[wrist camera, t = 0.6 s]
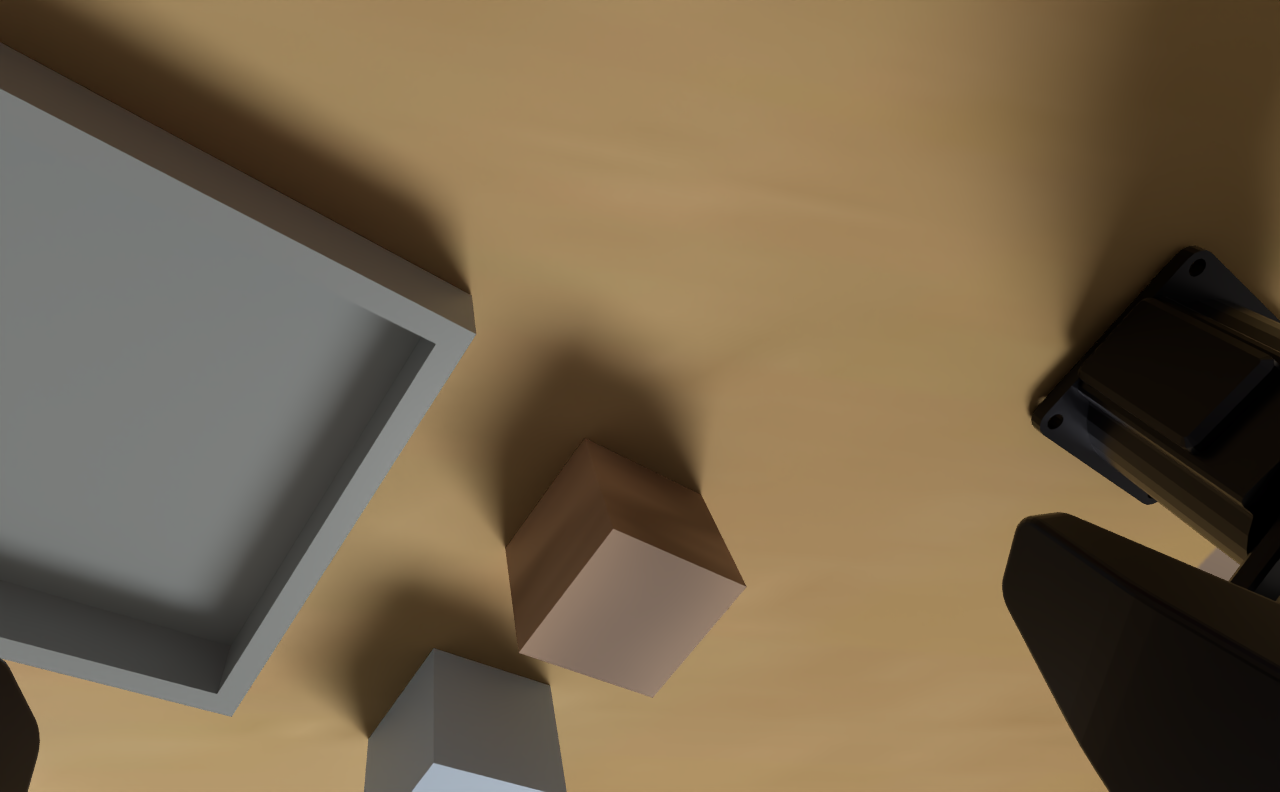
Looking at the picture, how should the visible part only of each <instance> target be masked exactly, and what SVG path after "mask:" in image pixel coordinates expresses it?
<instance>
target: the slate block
mask: <svg viewBox="0 0 1280 792" xmlns="http://www.w3.org/2000/svg"><path fill="white" fill-rule="evenodd" d="M364 792H567V791H566V785H565V778H564V772H563V766H562V759H561V753H560V746H559V740H558V733H557V727H556V720H555V714H554V707H553V701H552V694H551V688H550V685H547V684H543V683H540V682H537V681H534V680H531V679H528V678H525V677H522V676H519V675H515V674H512V673H509V672H506V671H503V670H500V669H497V668H494V667H491V666H488V665H484V664H481V663H478V662H475V661H472V660H469V659H466V658H463V657H460V656H456V655H453V654H450V653H447V652H444V651H441V650H438V649H435V648H433V650H432V651H431V653H430V654H429V655H428V657H427V658H426V660H425V661H424V662H423V664H422V665H421V667H420V668H419V669H418V671H417V672H416V674H415V675H414V676H413V678H412V679H411V681H410V682H409V683H408V685H407V686H406V687H405V689H404V690H403V692H402V693H401V694H400V696H399V697H398V699H397V700H396V701H395V703H394V704H393V706H392V707H391V708H390V710H389V711H388V713H387V714H386V715H385V717H384V718H383V720H382V721H381V722H380V724H379V725H378V726H377V728H376V729H375V731H374V732H373V733H372V735H371V736H370V738H369V739H368V751H367V763H366V775H365V787H364Z"/></svg>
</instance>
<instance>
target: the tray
mask: <svg viewBox="0 0 1280 792" xmlns="http://www.w3.org/2000/svg"><path fill="white" fill-rule="evenodd" d="M475 335H476V328H475V320H474V311H473V302H472V295H470V294H468V293H466V292H464V291H462V290H460V289H459V288H457V287H455V286H453V285H451V284H449V283H447V282H445V281H444V280H442V279H440V278H438V277H436V276H434V275H432V274H431V273H429V272H427V271H425V270H423V269H421V268H419V267H418V266H416V265H414V264H412V263H410V262H408V261H406V260H405V259H403V258H401V257H399V256H397V255H395V254H393V253H391V252H390V251H388V250H386V249H384V248H382V247H380V246H378V245H377V244H375V243H373V242H371V241H369V240H367V239H365V238H364V237H362V236H360V235H358V234H356V233H354V232H352V231H351V230H349V229H347V228H345V227H343V226H341V225H339V224H338V223H336V222H334V221H332V220H330V219H328V218H326V217H324V216H323V215H321V214H319V213H317V212H315V211H313V210H311V209H310V208H308V207H306V206H304V205H302V204H300V203H298V202H297V201H295V200H293V199H291V198H289V197H287V196H285V195H284V194H282V193H280V192H278V191H276V190H274V189H272V188H270V187H269V186H267V185H265V184H263V183H261V182H259V181H257V180H256V179H254V178H252V177H250V176H248V175H246V174H244V173H243V172H241V171H239V170H237V169H235V168H233V167H231V166H230V165H228V164H226V163H224V162H222V161H220V160H218V159H217V158H215V157H213V156H211V155H209V154H207V153H205V152H203V151H202V150H200V149H198V148H196V147H194V146H192V145H190V144H189V143H187V142H185V141H183V140H181V139H179V138H177V137H176V136H174V135H172V134H170V133H168V132H166V131H164V130H163V129H161V128H159V127H157V126H155V125H153V124H151V123H150V122H148V121H146V120H144V119H142V118H140V117H138V116H136V115H135V114H133V113H131V112H129V111H127V110H125V109H123V108H122V107H120V106H118V105H116V104H114V103H112V102H110V101H109V100H107V99H105V98H103V97H101V96H99V95H97V94H96V93H94V92H92V91H90V90H88V89H86V88H84V87H82V86H81V85H79V84H77V83H75V82H73V81H71V80H69V79H68V78H66V77H64V76H62V75H60V74H58V73H56V72H55V71H53V70H51V69H49V68H47V67H45V66H43V65H42V64H40V63H38V62H36V61H34V60H32V59H30V58H29V57H27V56H25V55H23V54H21V53H19V52H17V51H15V50H14V49H12V48H10V47H8V46H6V45H4V44H2V43H1V42H0V658H1V659H5V660H9V661H13V662H17V663H21V664H25V665H29V666H33V667H37V668H41V669H45V670H49V671H53V672H57V673H61V674H65V675H69V676H73V677H77V678H81V679H84V680H88V681H92V682H96V683H100V684H104V685H108V686H112V687H116V688H120V689H124V690H128V691H132V692H136V693H140V694H144V695H148V696H152V697H156V698H160V699H164V700H168V701H171V702H175V703H179V704H183V705H187V706H191V707H195V708H199V709H203V710H207V711H211V712H215V713H219V714H223V715H227V716H231V717H232V715H233V714H234V712H235V710H236V709H237V707H238V706H239V704H240V703H241V701H242V700H243V698H244V696H245V695H246V693H247V692H248V690H249V689H250V687H251V685H252V684H253V682H254V681H255V679H256V678H257V676H258V675H259V673H260V671H261V670H262V668H263V667H264V665H265V664H266V662H267V660H268V659H269V657H270V656H271V654H272V653H273V651H274V650H275V648H276V646H277V645H278V643H279V642H280V640H281V639H282V637H283V635H284V634H285V632H286V631H287V629H288V628H289V626H290V624H291V623H292V621H293V620H294V618H295V617H296V615H297V614H298V612H299V610H300V609H301V607H302V606H303V604H304V603H305V601H306V599H307V598H308V596H309V595H310V593H311V592H312V590H313V589H314V587H315V585H316V584H317V582H318V581H319V579H320V578H321V576H322V574H323V573H324V571H325V570H326V568H327V567H328V565H329V564H330V562H331V560H332V559H333V557H334V556H335V554H336V553H337V551H338V549H339V548H340V546H341V545H342V543H343V542H344V540H345V538H346V537H347V535H348V534H349V532H350V531H351V529H352V528H353V526H354V524H355V523H356V521H357V520H358V518H359V517H360V515H361V513H362V512H363V510H364V509H365V507H366V506H367V504H368V503H369V501H370V499H371V498H372V496H373V495H374V493H375V492H376V490H377V488H378V487H379V485H380V484H381V482H382V481H383V479H384V478H385V476H386V474H387V473H388V471H389V470H390V468H391V467H392V465H393V463H394V462H395V460H396V459H397V457H398V456H399V454H400V452H401V451H402V449H403V448H404V446H405V445H406V443H407V442H408V440H409V438H410V437H411V435H412V434H413V432H414V431H415V429H416V427H417V426H418V424H419V423H420V421H421V420H422V418H423V417H424V415H425V413H426V412H427V410H428V409H429V407H430V406H431V404H432V402H433V401H434V399H435V398H436V396H437V395H438V393H439V392H440V390H441V388H442V387H443V385H444V384H445V382H446V381H447V379H448V377H449V376H450V374H451V373H452V371H453V370H454V368H455V367H456V365H457V363H458V362H459V360H460V359H461V357H462V356H463V354H464V352H465V351H466V349H467V348H468V346H469V345H470V343H471V341H472V340H473V338H474V337H475Z"/></svg>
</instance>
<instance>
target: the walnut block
mask: <svg viewBox="0 0 1280 792" xmlns="http://www.w3.org/2000/svg"><path fill="white" fill-rule="evenodd" d="M505 549H506V557H507V565H508V573H509V580H510V588H511V596H512V604H513V612H514V620H515V627H516V635H517V643H518V651H519V653H521V654H524V655H527V656H530V657H533V658H536V659H539V660H542V661H545V662H548V663H551V664H554V665H557V666H560V667H563V668H566V669H569V670H572V671H575V672H578V673H581V674H584V675H587V676H590V677H593V678H596V679H598V680H601V681H604V682H607V683H610V684H613V685H616V686H619V687H622V688H625V689H628V690H631V691H634V692H637V693H640V694H643V695H646V696H649V697H652V698H653V697H654V695H655V694H656V693H657V692H658V691H659V690H660V688H661V687H662V686H663V685H664V684H665V683H666V681H667V680H668V679H669V678H670V677H671V675H672V674H673V673H674V672H675V671H676V670H677V668H678V667H679V666H680V665H681V664H682V662H683V661H684V660H685V659H686V658H687V657H688V655H689V654H690V653H691V652H692V651H693V649H694V648H695V647H696V646H697V645H698V644H699V642H700V641H701V640H702V639H703V638H704V636H705V635H706V634H707V633H708V632H709V631H710V629H711V628H712V627H713V626H714V625H715V623H716V622H717V621H718V620H719V619H720V618H721V616H722V615H723V614H724V613H725V612H726V610H727V609H728V608H729V607H730V606H731V605H732V603H733V602H734V601H735V600H736V599H737V597H738V596H739V595H740V594H741V593H742V592H743V590H744V589H745V588H746V585H745V583H744V581H743V579H742V577H741V575H740V573H739V571H738V568H737V566H736V564H735V562H734V560H733V558H732V556H731V554H730V552H729V550H728V548H727V546H726V544H725V542H724V540H723V538H722V536H721V534H720V532H719V530H718V528H717V526H716V524H715V522H714V520H713V518H712V516H711V514H710V512H709V510H708V508H707V506H706V504H705V502H704V499H703V497H702V495H701V494H699V493H697V492H695V491H692V490H690V489H688V488H686V487H684V486H682V485H680V484H678V483H676V482H674V481H672V480H670V479H668V478H666V477H664V476H662V475H660V474H658V473H656V472H653V471H651V470H649V469H647V468H645V467H643V466H641V465H639V464H637V463H635V462H633V461H631V460H629V459H627V458H625V457H623V456H621V455H619V454H616V453H614V452H612V451H610V450H608V449H606V448H604V447H602V446H600V445H598V444H596V443H594V442H592V441H590V440H588V439H586V438H584V440H583V441H582V442H581V444H580V445H579V447H578V448H577V449H576V451H575V452H574V454H573V455H572V456H571V458H570V459H569V461H568V462H567V463H566V465H565V466H564V467H563V469H562V470H561V472H560V473H559V474H558V476H557V477H556V479H555V480H554V481H553V483H552V484H551V486H550V487H549V488H548V490H547V491H546V492H545V494H544V495H543V497H542V498H541V499H540V501H539V502H538V504H537V505H536V506H535V508H534V509H533V511H532V512H531V513H530V515H529V516H528V518H527V519H526V520H525V522H524V523H523V524H522V526H521V527H520V529H519V530H518V531H517V533H516V534H515V536H514V537H513V538H512V540H511V541H510V543H509V544H508V545H507V547H506V548H505Z"/></svg>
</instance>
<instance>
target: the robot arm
mask: <svg viewBox="0 0 1280 792" xmlns="http://www.w3.org/2000/svg"><path fill="white" fill-rule="evenodd" d="M1193 262H1194V263H1193ZM1192 263H1193V265H1192ZM1191 265H1192V267H1191V268H1190V266H1191ZM1052 416H1053V418H1052V419H1051V420H1049V419H1050V418H1051V417H1052ZM1031 421H1032V425H1033V426H1034V428H1036V429H1037V430H1038V431H1039V432H1040V433H1042V434H1043V435H1044V436H1046V437H1047V438H1049V439H1050V440H1052V441H1053V442H1055V443H1056V444H1057V445H1059V446H1060V447H1062V448H1063V449H1065V450H1066V451H1068V452H1069V453H1071V454H1072V455H1073V456H1075V457H1076V458H1078V459H1079V460H1081V461H1082V462H1084V463H1085V464H1087V465H1088V466H1089V467H1091V468H1092V469H1094V470H1095V471H1097V472H1098V473H1100V474H1101V475H1103V476H1104V477H1105V478H1107V479H1108V480H1110V481H1111V482H1113V483H1114V484H1116V485H1117V486H1119V487H1120V488H1122V489H1123V490H1124V491H1126V492H1127V493H1129V494H1130V495H1132V496H1133V497H1135V498H1136V499H1138V500H1139V501H1140V502H1142V503H1143V504H1147V505H1149V504H1154V503H1156V502H1159V503H1160V504H1161V505H1163V506H1164V507H1165V508H1167V509H1168V510H1169V511H1171V512H1172V513H1173V514H1174V515H1176V516H1177V517H1178V518H1180V519H1181V520H1182V521H1183V522H1185V523H1186V524H1187V525H1189V526H1190V527H1191V528H1193V529H1194V530H1195V531H1196V532H1198V533H1199V534H1200V535H1202V536H1203V537H1204V538H1206V539H1207V540H1208V541H1209V542H1211V543H1212V544H1213V545H1215V546H1216V547H1217V548H1219V549H1220V550H1221V551H1222V552H1224V553H1225V554H1226V555H1228V556H1229V557H1230V558H1231V559H1233V560H1234V561H1236V562H1237V563H1238V564H1239V565H1240V566H1239V568H1238V569H1237V570H1236V572H1235V573H1234V575H1233V576H1232V577H1231V578H1230V580H1229V581H1226V580H1224V579H1221V578H1219V577H1217V576H1214V575H1212V574H1210V573H1207V572H1205V571H1203V570H1200V569H1198V568H1196V567H1193V566H1191V565H1188V564H1186V563H1184V562H1181V561H1179V560H1177V559H1174V558H1172V557H1170V556H1167V555H1165V554H1163V553H1160V552H1158V551H1155V550H1153V549H1151V548H1148V547H1146V546H1144V545H1141V544H1139V543H1137V542H1134V541H1132V540H1130V539H1127V538H1125V537H1122V536H1120V535H1118V534H1115V533H1113V532H1111V531H1108V530H1106V529H1104V528H1101V527H1099V526H1097V525H1094V524H1092V523H1089V522H1087V521H1085V520H1082V519H1080V518H1078V517H1075V516H1073V515H1070V514H1067V513H1061V512H1057V513H1049V514H1041V515H1034V516H1028V517H1026V518H1024V519H1023V520H1022V521H1021V522H1020V523H1019V524H1018V526H1017V528H1016V531H1015V535H1014V538H1013V542H1012V546H1011V550H1010V554H1009V557H1008V561H1007V565H1006V569H1005V572H1004V576H1003V582H1002V590H1003V597H1004V600H1005V603H1006V606H1007V608H1008V610H1009V612H1010V614H1011V616H1012V618H1013V620H1014V622H1015V624H1016V625H1017V627H1018V629H1019V631H1020V633H1021V635H1022V637H1023V639H1024V641H1025V643H1026V645H1027V647H1028V648H1029V650H1030V652H1031V654H1032V656H1033V658H1034V660H1035V662H1036V664H1037V666H1038V668H1039V670H1040V672H1041V673H1042V675H1043V677H1044V679H1045V681H1046V683H1047V685H1048V687H1049V689H1050V691H1051V693H1052V695H1053V696H1054V698H1055V700H1056V702H1057V704H1058V706H1059V708H1060V710H1061V712H1062V714H1063V716H1064V718H1065V719H1066V721H1067V723H1068V725H1069V727H1070V729H1071V730H1072V732H1073V734H1074V736H1075V738H1076V739H1077V741H1078V743H1079V745H1080V746H1081V748H1082V750H1083V751H1084V753H1085V755H1086V756H1087V758H1088V759H1089V761H1090V763H1091V764H1092V766H1093V768H1094V769H1095V771H1096V772H1097V774H1098V775H1099V777H1100V778H1101V780H1102V782H1103V783H1104V785H1105V786H1106V788H1107V789H1108V791H1109V792H1280V321H1279V320H1278V319H1277V318H1276V317H1275V316H1274V315H1273V314H1272V313H1271V312H1270V311H1269V310H1268V309H1267V308H1266V307H1265V306H1264V305H1263V304H1262V303H1261V302H1260V301H1259V300H1258V299H1257V298H1256V297H1255V296H1254V295H1253V294H1252V293H1251V292H1250V291H1249V290H1248V289H1247V288H1246V287H1245V286H1244V285H1243V284H1242V283H1241V282H1240V281H1239V280H1238V279H1237V278H1236V277H1235V276H1234V275H1233V274H1232V273H1231V272H1230V271H1229V270H1228V269H1227V268H1226V267H1225V266H1224V265H1223V264H1222V263H1221V262H1220V261H1219V260H1218V259H1217V258H1216V257H1215V256H1214V255H1213V254H1212V253H1211V252H1209V251H1207V250H1205V249H1202V248H1200V247H1197V246H1188V247H1186V248H1184V249H1182V250H1181V251H1180V252H1178V253H1177V254H1176V255H1175V256H1174V258H1173V259H1172V260H1171V261H1170V262H1169V263H1168V264H1167V265H1166V266H1165V267H1164V269H1163V270H1162V271H1161V272H1160V273H1159V274H1158V275H1157V276H1156V277H1155V279H1154V280H1153V281H1152V282H1151V283H1150V284H1149V285H1148V286H1147V287H1146V288H1145V290H1144V291H1143V292H1142V293H1141V294H1140V295H1139V296H1138V297H1137V298H1136V299H1135V301H1134V302H1133V303H1132V304H1131V305H1130V306H1129V307H1128V308H1127V309H1126V310H1125V312H1124V313H1123V314H1122V315H1121V316H1120V317H1119V318H1118V319H1117V320H1116V321H1115V323H1114V324H1113V325H1112V326H1111V327H1110V328H1109V329H1108V330H1107V331H1106V332H1105V334H1104V335H1103V336H1102V337H1101V338H1100V339H1099V340H1098V341H1097V342H1096V343H1095V345H1094V346H1093V347H1092V348H1091V349H1090V350H1089V351H1088V352H1087V353H1086V354H1085V356H1084V357H1083V358H1082V359H1081V360H1080V361H1079V362H1078V363H1077V364H1076V365H1075V367H1074V368H1073V369H1072V370H1071V371H1070V372H1069V373H1068V374H1067V375H1066V376H1065V378H1064V379H1063V380H1062V381H1061V382H1060V383H1059V384H1058V385H1057V386H1056V387H1055V389H1054V390H1053V391H1052V392H1051V393H1050V394H1049V395H1048V396H1047V397H1046V398H1045V400H1044V401H1043V402H1042V403H1041V404H1040V405H1039V406H1038V407H1037V408H1036V410H1035V411H1034V413H1033V415H1032V419H1031ZM39 743H40V738H39V729H38V725H37V722H36V719H35V717H34V716H33V714H32V712H31V710H30V708H29V706H28V704H27V702H26V700H25V698H24V696H23V694H22V692H21V690H20V688H19V686H18V684H17V682H16V680H15V678H14V676H13V674H12V672H11V670H10V668H9V667H8V665H7V664H6V662H5V661H3V660H2V659H1V658H0V792H28V789H29V785H30V782H31V778H32V774H33V771H34V767H35V764H36V760H37V756H38V752H39Z"/></svg>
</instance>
